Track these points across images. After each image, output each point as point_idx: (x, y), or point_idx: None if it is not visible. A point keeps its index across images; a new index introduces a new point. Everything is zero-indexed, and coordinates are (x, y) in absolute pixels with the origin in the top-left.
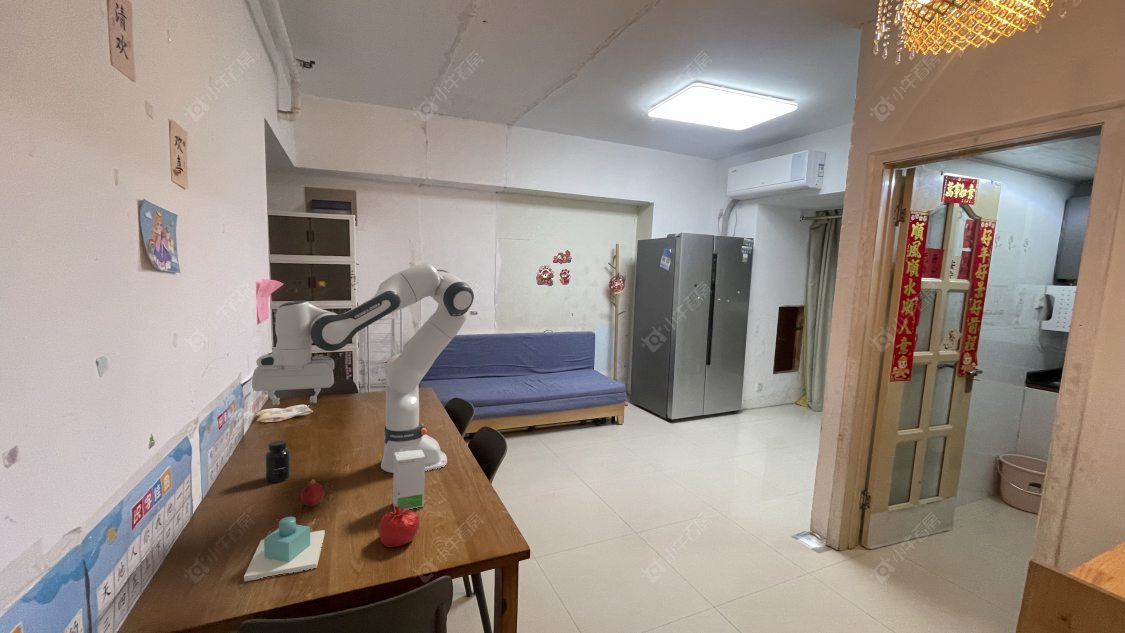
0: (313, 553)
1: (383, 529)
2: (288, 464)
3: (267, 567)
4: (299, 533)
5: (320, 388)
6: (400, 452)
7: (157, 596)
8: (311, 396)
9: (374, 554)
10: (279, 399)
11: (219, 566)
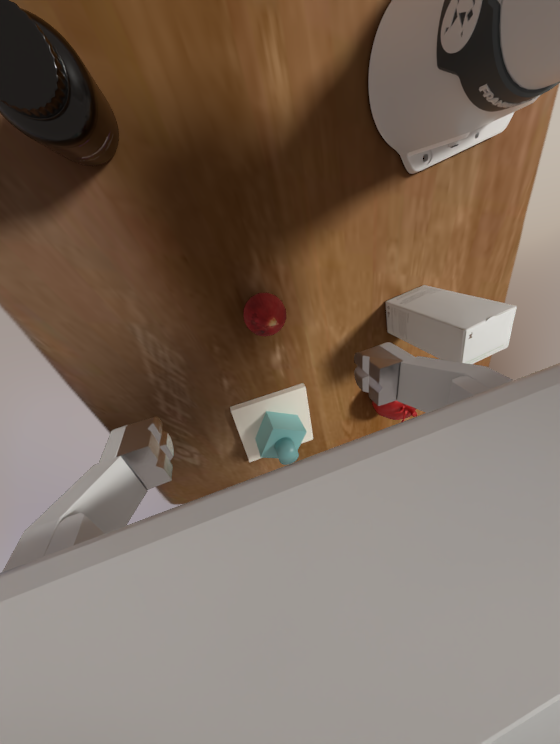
0: (305, 426)
1: (384, 416)
2: (107, 116)
3: None
4: (298, 444)
5: (498, 383)
6: (477, 330)
7: (174, 483)
8: (383, 378)
9: (362, 411)
10: (153, 440)
11: (204, 444)
